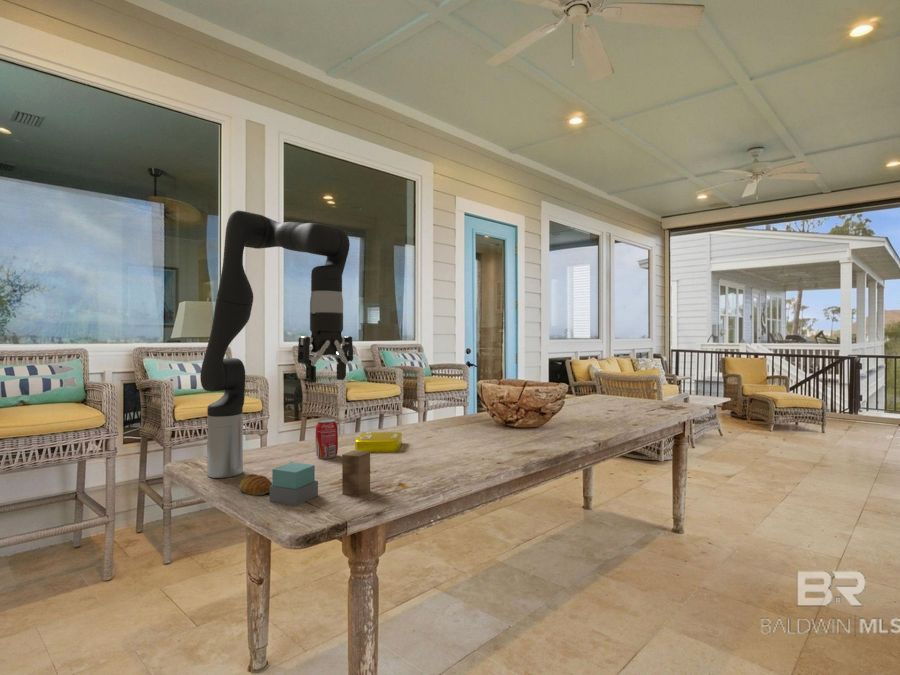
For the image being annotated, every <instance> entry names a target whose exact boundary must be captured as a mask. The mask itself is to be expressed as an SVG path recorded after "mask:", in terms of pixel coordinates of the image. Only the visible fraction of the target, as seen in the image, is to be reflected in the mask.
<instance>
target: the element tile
mask: <svg viewBox="0 0 900 675" xmlns="http://www.w3.org/2000/svg"><path fill="white" fill-rule="evenodd" d="M354 444H355V445H354V447H355V448H354V450H356V451H366V452H370V453H397V452H400V449H401V448H402V444H403V434H402V432H399V431H398V432H397V431H392V432H391V431H388V432H387V431H385V432H383V431H380V432H375V431H374V432H373V431H372V432H370V431H369V432H366V431H365V432H362V433H360V434H359V435H358V437H356V439H355V440H354Z"/></svg>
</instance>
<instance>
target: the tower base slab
mask: <svg viewBox="0 0 900 675" xmlns="http://www.w3.org/2000/svg"><path fill="white" fill-rule="evenodd" d="M317 496H319V480H316V479H315V481H314V482H312V483H309V484H307V485H305V486H302V487H300V488H298V489H290V488H283V487H277V486H272V485H271V486H270V492H269V502H270V503H277V504H284V505H287V506H288V505H289V506H299V505H301V504H303V503H305V502H308V501H309V500H311V499H313V498H314V499H315V498H316V497H317Z"/></svg>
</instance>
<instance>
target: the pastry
mask: <svg viewBox="0 0 900 675" xmlns="http://www.w3.org/2000/svg"><path fill="white" fill-rule="evenodd" d="M271 485H272V482H271V480H270V479H269V478H267V476H264V475H261V474H260V475H258V474H255V473H251V474H248V475H246V476H245V477H243V478H242V479H241V481H240V482H239V485H238V486H239V489H240V491H241V492H243V494H246V495H247V494H248V495H252V496H263V495H265V494H268V493H269V494H270V486H271Z"/></svg>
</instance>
